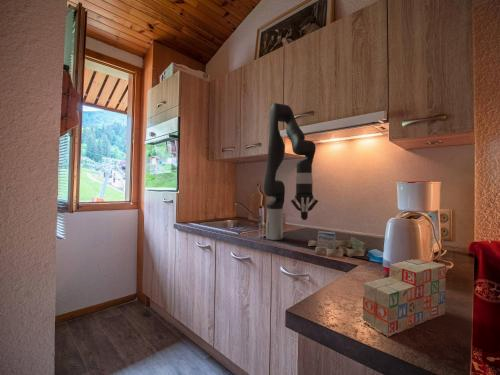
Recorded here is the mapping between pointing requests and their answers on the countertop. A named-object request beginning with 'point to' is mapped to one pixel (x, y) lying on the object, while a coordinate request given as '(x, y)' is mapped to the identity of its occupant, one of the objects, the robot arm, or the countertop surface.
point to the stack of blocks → (405, 295)
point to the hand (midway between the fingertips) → (304, 219)
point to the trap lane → (341, 248)
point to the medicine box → (327, 239)
